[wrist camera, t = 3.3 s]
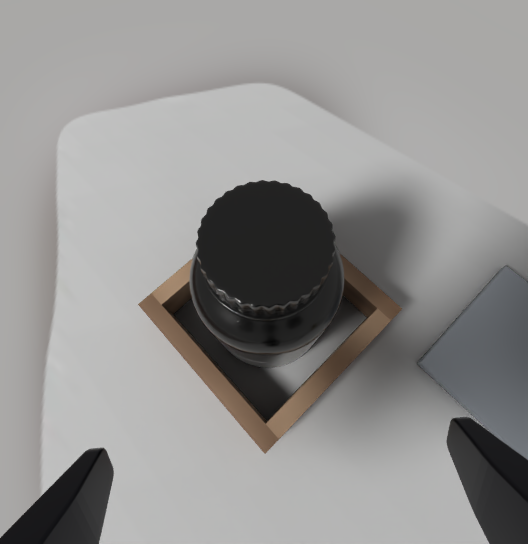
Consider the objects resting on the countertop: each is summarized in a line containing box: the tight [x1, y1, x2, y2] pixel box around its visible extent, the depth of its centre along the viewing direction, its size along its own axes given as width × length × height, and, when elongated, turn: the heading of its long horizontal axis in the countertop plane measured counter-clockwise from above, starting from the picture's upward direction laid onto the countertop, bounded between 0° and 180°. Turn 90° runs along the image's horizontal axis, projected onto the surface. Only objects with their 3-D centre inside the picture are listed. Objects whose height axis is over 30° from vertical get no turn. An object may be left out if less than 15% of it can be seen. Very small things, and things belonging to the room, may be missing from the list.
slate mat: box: [417, 266, 528, 459], centre depth 21 cm, size 9×9×1 cm
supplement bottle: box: [189, 180, 344, 368], centre depth 17 cm, size 7×7×12 cm
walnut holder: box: [138, 253, 402, 453], centre depth 22 cm, size 11×11×2 cm
